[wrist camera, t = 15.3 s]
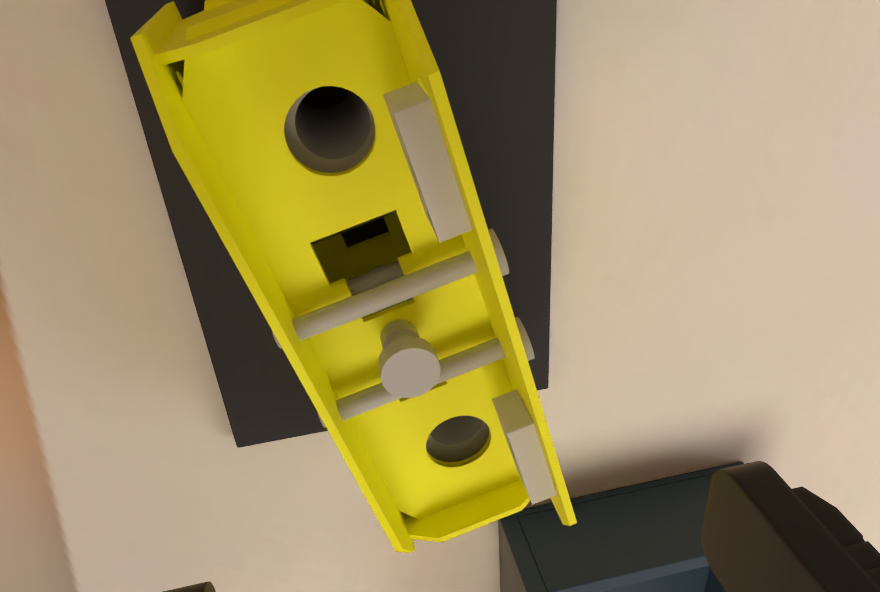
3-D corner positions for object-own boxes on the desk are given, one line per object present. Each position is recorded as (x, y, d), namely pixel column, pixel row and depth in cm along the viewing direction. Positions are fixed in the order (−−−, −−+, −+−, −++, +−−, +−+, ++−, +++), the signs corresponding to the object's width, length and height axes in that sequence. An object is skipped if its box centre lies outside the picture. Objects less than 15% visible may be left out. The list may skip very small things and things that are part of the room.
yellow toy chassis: (514, 379, 26) (605, 557, 19) (375, 433, 26) (415, 633, 19) (367, -74, 17) (433, -59, 10) (158, 4, 17) (80, 74, 10)
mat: (237, 437, 25) (237, 448, 25) (99, -37, 17) (93, -35, 17) (543, 379, 27) (548, 388, 27) (551, -76, 19) (559, -75, 18)
